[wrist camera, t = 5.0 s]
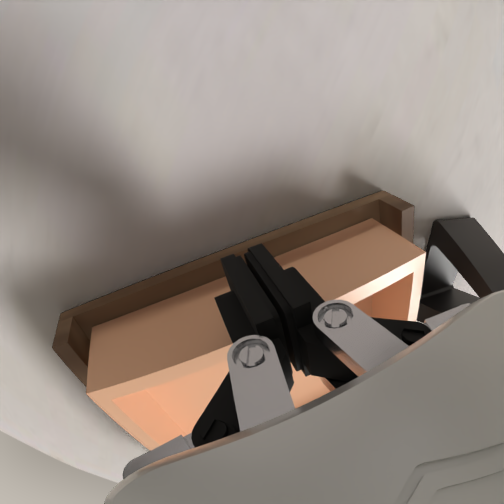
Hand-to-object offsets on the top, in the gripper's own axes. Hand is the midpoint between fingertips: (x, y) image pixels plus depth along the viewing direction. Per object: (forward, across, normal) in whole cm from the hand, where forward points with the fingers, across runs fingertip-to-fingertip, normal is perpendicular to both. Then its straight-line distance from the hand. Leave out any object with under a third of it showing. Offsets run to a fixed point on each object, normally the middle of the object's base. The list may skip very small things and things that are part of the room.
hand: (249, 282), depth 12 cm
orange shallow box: (+3, 0, +10) cm, 10 cm away
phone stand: (+4, -17, +10) cm, 20 cm away
